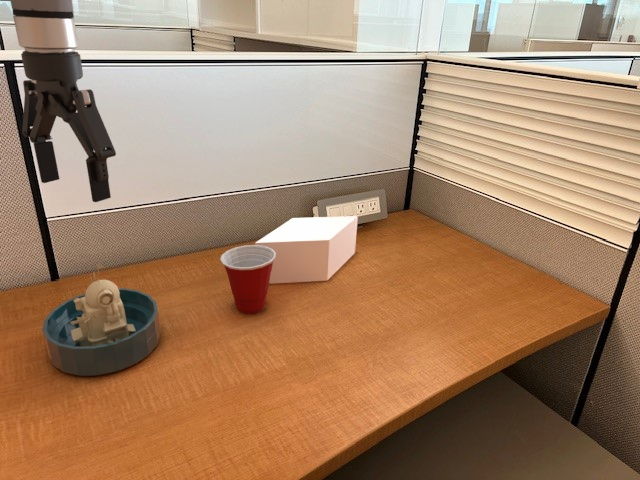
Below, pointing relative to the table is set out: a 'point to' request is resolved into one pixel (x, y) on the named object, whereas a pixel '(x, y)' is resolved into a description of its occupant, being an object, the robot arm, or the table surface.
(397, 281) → the table surface
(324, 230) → the white rectangular box
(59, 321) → the shallow teal bowl
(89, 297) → the robot
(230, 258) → the plastic cup
